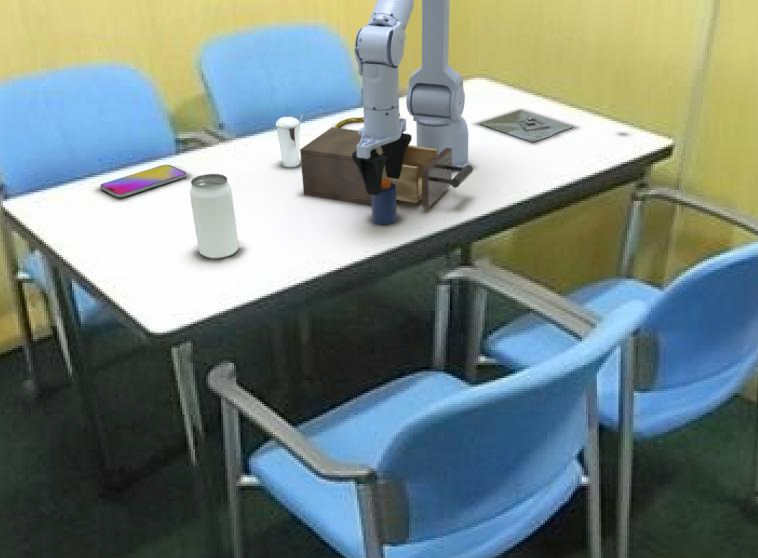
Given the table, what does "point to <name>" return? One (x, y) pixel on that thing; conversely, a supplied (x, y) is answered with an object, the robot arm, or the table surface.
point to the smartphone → (143, 180)
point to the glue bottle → (385, 204)
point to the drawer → (427, 175)
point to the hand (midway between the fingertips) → (383, 185)
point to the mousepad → (526, 125)
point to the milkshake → (289, 140)
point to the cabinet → (334, 167)
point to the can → (214, 216)
